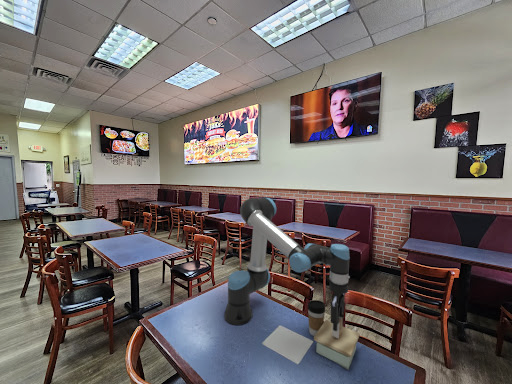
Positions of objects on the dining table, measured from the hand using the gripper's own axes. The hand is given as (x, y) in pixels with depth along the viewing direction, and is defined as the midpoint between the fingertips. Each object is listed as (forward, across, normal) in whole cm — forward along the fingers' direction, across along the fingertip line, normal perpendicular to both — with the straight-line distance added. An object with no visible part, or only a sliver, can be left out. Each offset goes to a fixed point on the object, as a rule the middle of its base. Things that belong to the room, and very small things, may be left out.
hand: (337, 333), depth 93 cm
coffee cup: (+8, +5, +12) cm, 15 cm away
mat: (+8, -9, +19) cm, 23 cm away
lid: (+2, 0, 0) cm, 2 cm away
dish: (+8, 0, 0) cm, 8 cm away
